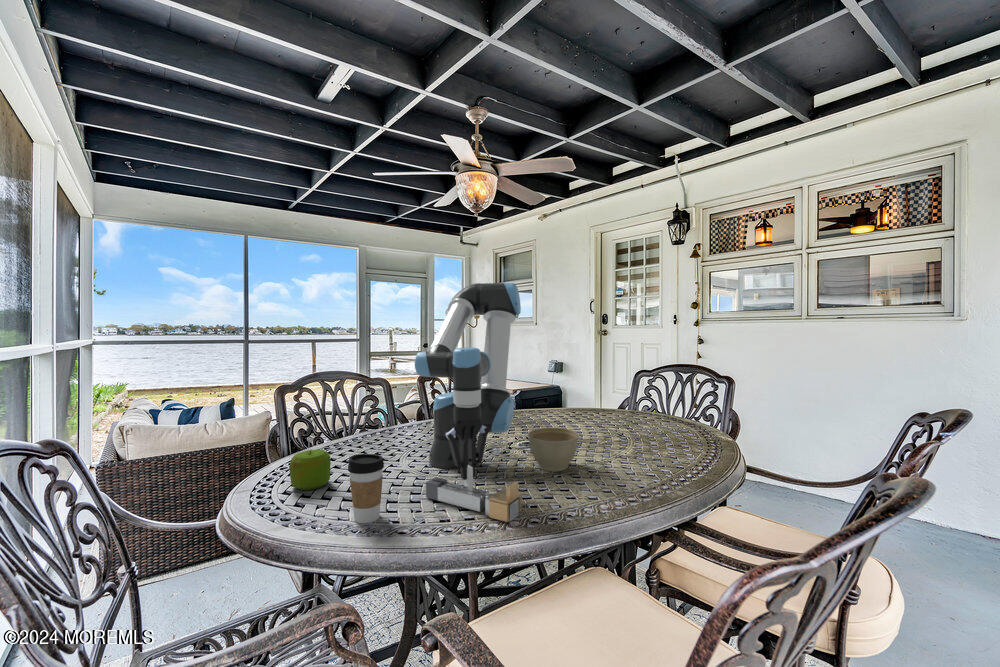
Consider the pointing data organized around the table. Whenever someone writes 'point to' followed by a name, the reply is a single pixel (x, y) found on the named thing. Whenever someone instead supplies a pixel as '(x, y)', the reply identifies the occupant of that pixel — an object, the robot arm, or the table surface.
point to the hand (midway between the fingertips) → (468, 489)
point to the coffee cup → (366, 486)
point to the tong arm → (461, 487)
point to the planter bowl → (553, 447)
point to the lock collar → (504, 502)
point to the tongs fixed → (465, 498)
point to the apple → (310, 469)
